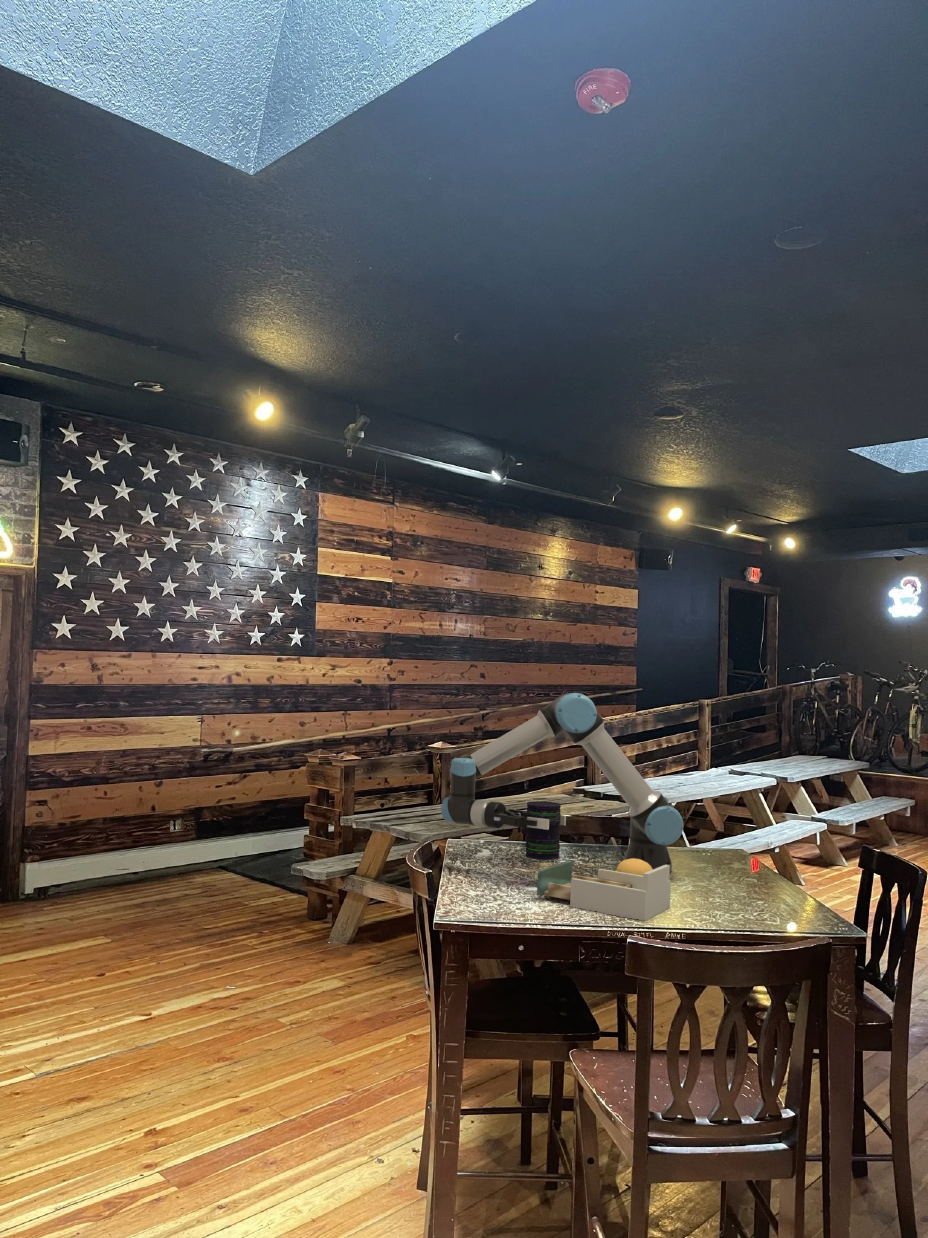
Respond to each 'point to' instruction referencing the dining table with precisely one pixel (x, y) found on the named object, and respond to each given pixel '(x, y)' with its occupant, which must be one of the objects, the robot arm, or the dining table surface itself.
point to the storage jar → (543, 831)
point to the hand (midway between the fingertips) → (556, 822)
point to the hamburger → (634, 867)
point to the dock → (624, 893)
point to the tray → (563, 881)
